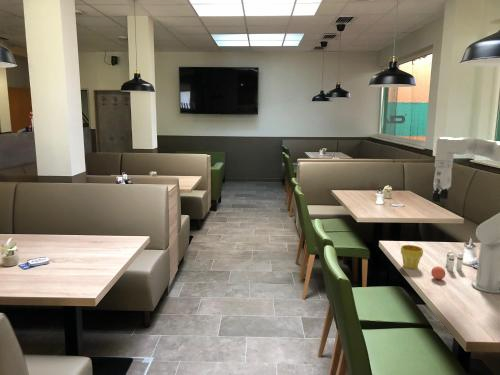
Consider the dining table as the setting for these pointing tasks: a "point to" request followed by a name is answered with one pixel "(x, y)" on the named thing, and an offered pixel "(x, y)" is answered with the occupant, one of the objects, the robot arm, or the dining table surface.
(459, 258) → the rear right pin
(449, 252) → the rear left pin
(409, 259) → the plant pot
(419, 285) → the dining table surface
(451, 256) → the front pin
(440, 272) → the ball
